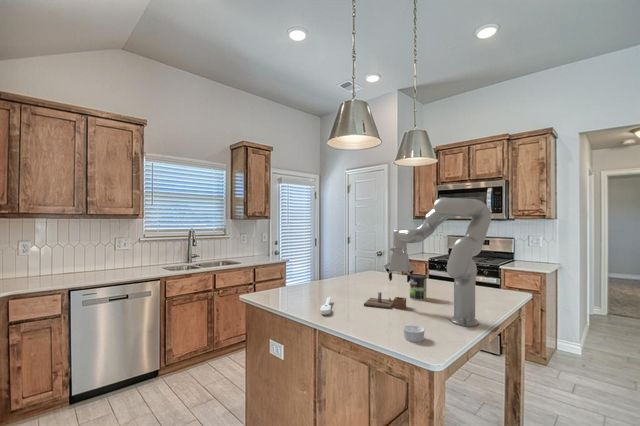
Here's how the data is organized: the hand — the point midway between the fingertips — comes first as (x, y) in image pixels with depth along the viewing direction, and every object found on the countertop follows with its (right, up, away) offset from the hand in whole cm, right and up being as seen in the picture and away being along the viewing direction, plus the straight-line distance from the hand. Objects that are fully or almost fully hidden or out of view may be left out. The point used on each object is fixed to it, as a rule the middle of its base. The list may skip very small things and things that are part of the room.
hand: (399, 281), depth 181 cm
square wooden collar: (+1, -15, +1) cm, 15 cm away
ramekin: (-5, -15, -46) cm, 49 cm away
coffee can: (+17, -15, +20) cm, 30 cm away
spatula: (-41, -15, -2) cm, 44 cm away
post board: (-10, -15, +6) cm, 19 cm away
